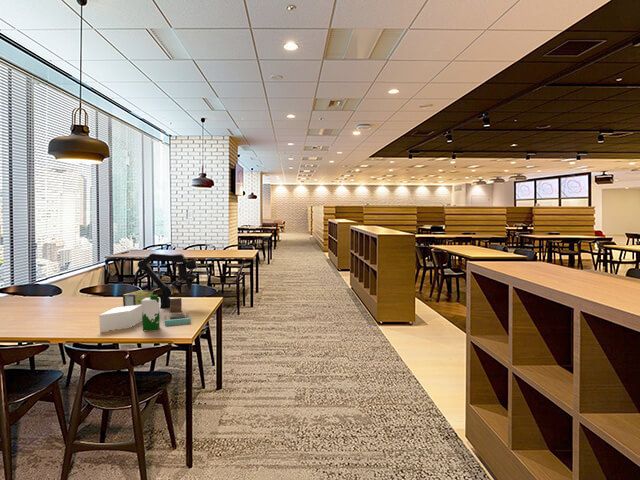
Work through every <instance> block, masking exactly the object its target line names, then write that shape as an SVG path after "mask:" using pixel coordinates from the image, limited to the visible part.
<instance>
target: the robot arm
mask: <svg viewBox="0 0 640 480" xmlns="http://www.w3.org/2000/svg"><path fill="white" fill-rule="evenodd" d="M153 260H158V261H159V260H160V261H170V262H174V263H175V264H174V267H175V268H177V275H178V278H177V280H175V281H173V282H172V283H171V285H170V284H169V283H168V284H166V283H165V282H164V281H163V280H162V279H161V278H160V276H158V275H157V273H156V272H155V271H154V270H153V269H152V267H151V265H150V263H151V262H152V261H153ZM137 267H138V268H139V269H140V270H141V271H143V272H144V273H146V274H147V275H148V276H149V278H150V279H151V280H152V281H153V282H154V283H155V284H156V285H157V286H158V288H159V290H160V291H161V295H160V296H159V304H160V306H159V309H166V308H167V309H168V308H169V309H170V299H171V296H172V295H173V293H174V290H173V288H175V289H176V290H177V292H178V293H179V295H182V287H183V283H184V282H186V286H187V288H188V290H189V291H190V290H191V289H192V286H193V285H192V284H193V282H194V281H195V280H196V279H197V276H196V274H193V273H189V271H193V270H196V269H198V263H197V260H196V259H195V258H194V259H192V260H191V259H190V260H188V259H187V258H186V257H185V256H184V254H183V253H178V254H162V253H154V252H152V253H150V254H149V255H148V256H147V257H145V258H144V259H141V260H140V261H138V262H137ZM188 270H189V271H188Z"/></svg>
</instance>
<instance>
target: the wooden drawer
mask: <svg viewBox="0 0 640 480" xmlns="http://www.w3.org/2000/svg"><path fill="white" fill-rule="evenodd" d="M182 304H183V303H182V298H181V297H178V298H177V297H176V298H170V308H169V320H173V319H183V318H185V317H184V312H183V309H182Z"/></svg>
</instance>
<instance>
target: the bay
mask: <svg viewBox="0 0 640 480" xmlns="http://www.w3.org/2000/svg"><path fill="white" fill-rule="evenodd" d="M185 315H186V317H184V318H183V319H173V320H170V319H168V317H167V315H164V326H165V327H167V326H176V325H177V326H178V325H186V324H191V318H190V315H189V313H186V314H185Z"/></svg>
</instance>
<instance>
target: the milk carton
mask: <svg viewBox="0 0 640 480" xmlns="http://www.w3.org/2000/svg"><path fill="white" fill-rule="evenodd" d="M141 302H142V321H141V322H142V331H144V330H148V331H147V332H150V331H149V330H156V331H157V330H158V329H159V328H160V325H161V324H160V323H161V322H160V321H161V320H160V296H159V294H153V295H151V296H150V298H145V299H143V300H142V301H141ZM144 332H145V331H144Z"/></svg>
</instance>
